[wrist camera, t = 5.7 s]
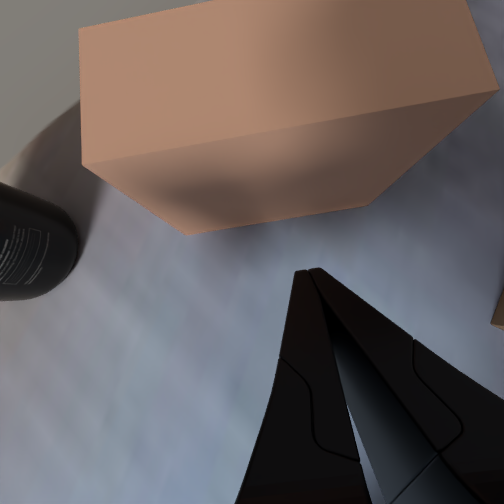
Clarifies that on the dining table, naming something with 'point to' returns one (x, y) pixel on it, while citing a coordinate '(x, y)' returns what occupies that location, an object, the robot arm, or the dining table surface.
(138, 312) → the dining table surface
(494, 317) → the walnut block
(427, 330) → the dining table surface
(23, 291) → the supplement bottle
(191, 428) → the dining table surface
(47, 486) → the dining table surface
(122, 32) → the terracotta block
